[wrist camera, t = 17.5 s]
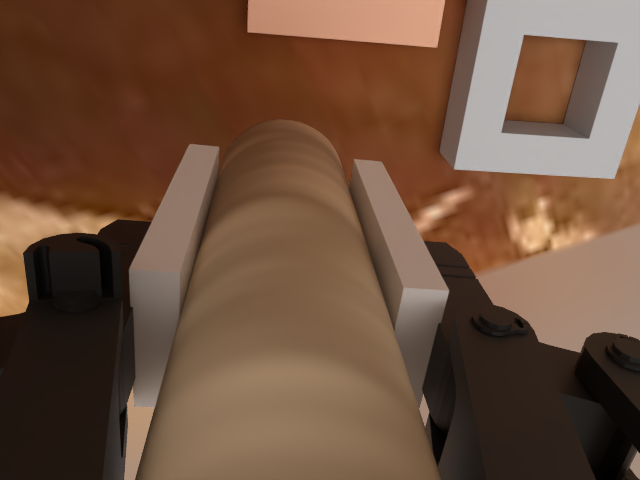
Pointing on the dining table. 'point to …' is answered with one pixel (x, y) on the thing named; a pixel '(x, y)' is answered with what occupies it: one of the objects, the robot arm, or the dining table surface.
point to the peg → (285, 334)
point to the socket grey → (585, 102)
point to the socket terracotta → (350, 20)
